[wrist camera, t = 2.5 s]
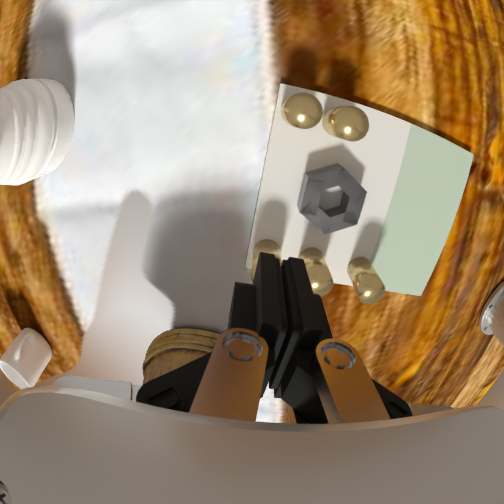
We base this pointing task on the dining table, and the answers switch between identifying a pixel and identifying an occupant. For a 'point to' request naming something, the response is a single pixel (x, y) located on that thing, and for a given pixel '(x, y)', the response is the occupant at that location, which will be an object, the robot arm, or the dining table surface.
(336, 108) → the spacers
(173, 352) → the tankard
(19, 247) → the dining table surface
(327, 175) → the nut
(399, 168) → the mat
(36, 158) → the honey pot
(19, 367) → the mug
